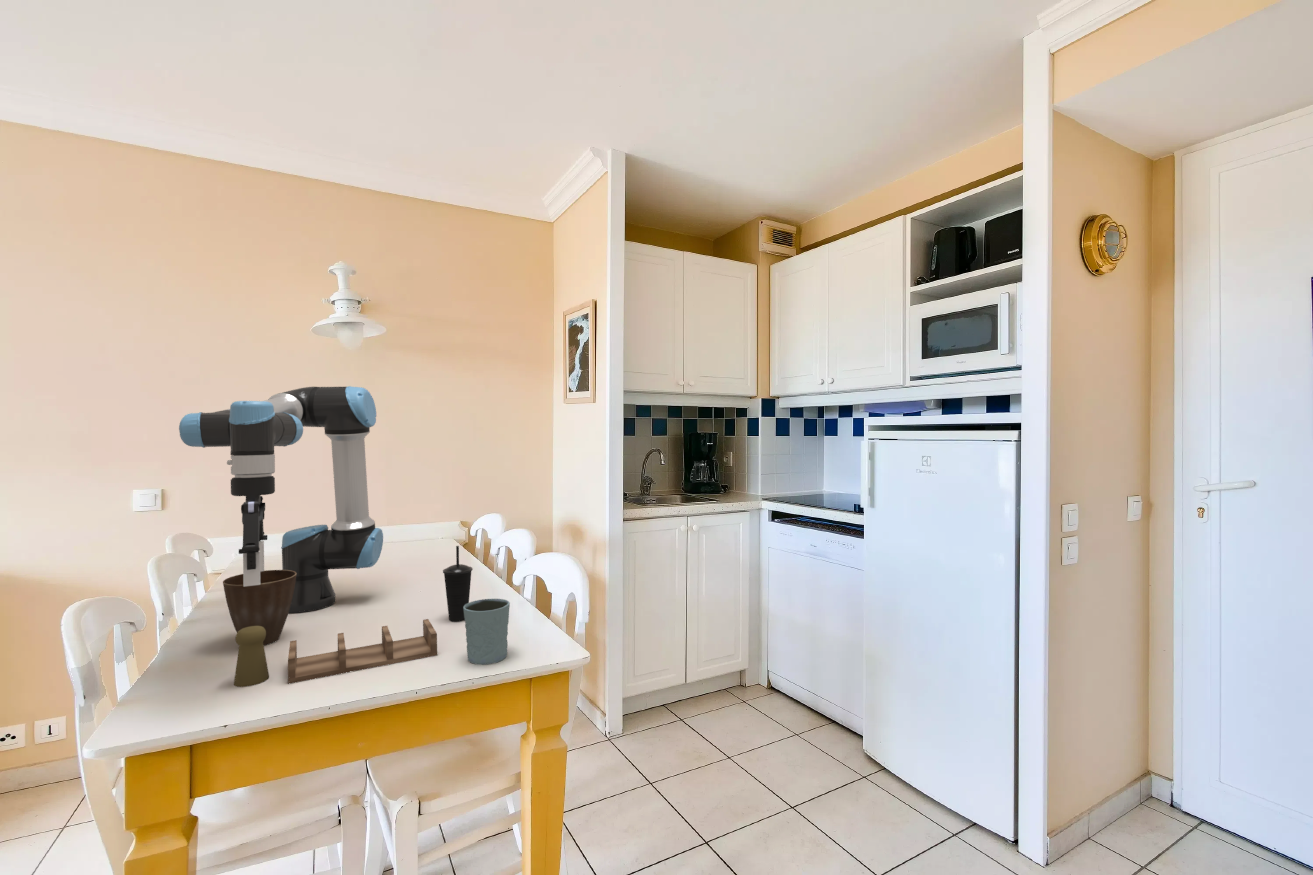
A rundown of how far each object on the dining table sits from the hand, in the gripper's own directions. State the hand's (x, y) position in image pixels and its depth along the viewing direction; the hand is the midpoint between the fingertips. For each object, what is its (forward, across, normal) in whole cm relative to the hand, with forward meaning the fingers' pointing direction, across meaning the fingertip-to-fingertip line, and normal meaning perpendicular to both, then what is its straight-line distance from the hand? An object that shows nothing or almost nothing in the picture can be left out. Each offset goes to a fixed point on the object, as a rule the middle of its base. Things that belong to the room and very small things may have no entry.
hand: (254, 578), depth 120 cm
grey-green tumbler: (+21, +14, +44) cm, 51 cm away
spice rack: (+21, 0, +20) cm, 29 cm away
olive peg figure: (+21, 0, -1) cm, 21 cm away
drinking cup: (+21, -17, +45) cm, 52 cm away
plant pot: (+21, -26, 0) cm, 34 cm away
